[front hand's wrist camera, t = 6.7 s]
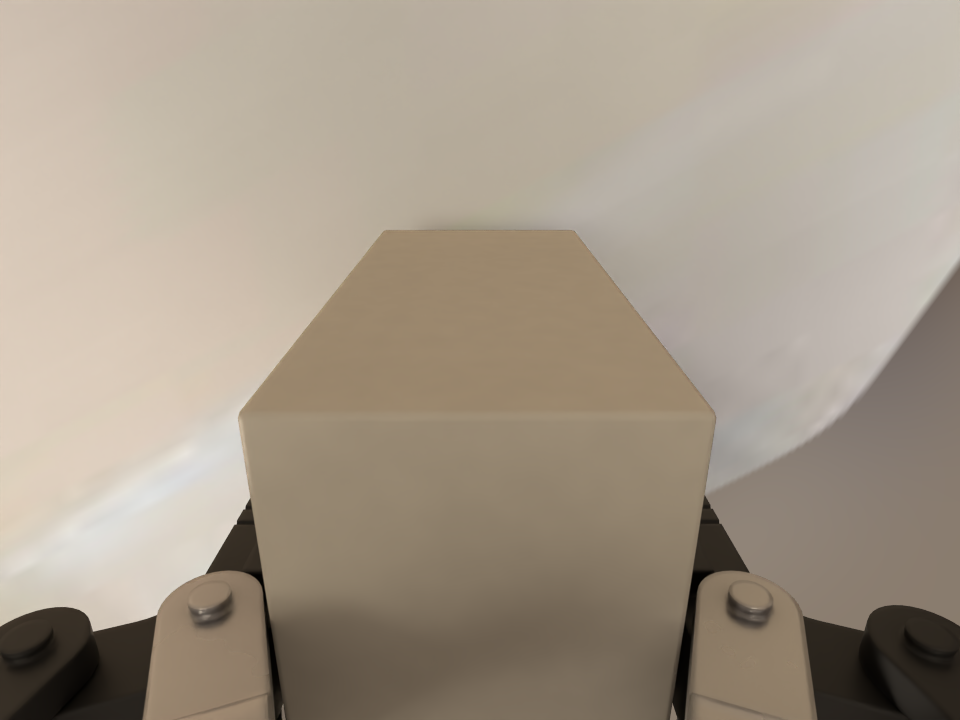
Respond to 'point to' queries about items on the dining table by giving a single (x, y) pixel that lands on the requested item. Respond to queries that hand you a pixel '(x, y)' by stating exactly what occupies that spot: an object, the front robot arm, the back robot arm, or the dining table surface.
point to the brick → (477, 489)
